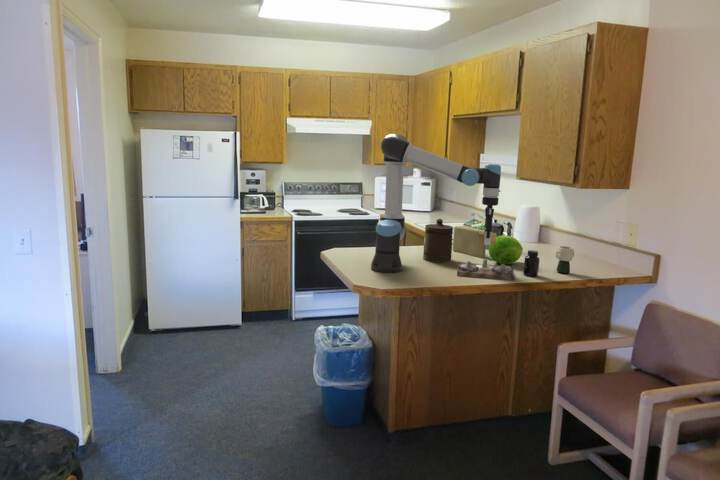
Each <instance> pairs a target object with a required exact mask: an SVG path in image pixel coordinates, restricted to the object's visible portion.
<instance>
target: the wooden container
mask: <svg viewBox="0 0 720 480" xmlns="http://www.w3.org/2000/svg"><path fill="white" fill-rule="evenodd" d="M443 222H444V220H443V219H442V218H438V219H436V223H429V224H425V229H424V240H423V241H424V242H423V256H422V258H423V259H422V260H425V261H427V262H431V263H449V262H451V261H452V253H453V252H452V251H453V236H454V227H453V226H451V225H447V224H444V223H443Z"/></svg>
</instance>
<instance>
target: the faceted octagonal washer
mask: <svg viewBox="0 0 720 480" xmlns="http://www.w3.org/2000/svg"><path fill="white" fill-rule="evenodd" d="M496 236H497V234H496V233H492V232H491V241H490V245H496ZM484 242H485V232H479V237H478V244H483V245H484Z"/></svg>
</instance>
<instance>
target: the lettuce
mask: <svg viewBox="0 0 720 480" xmlns="http://www.w3.org/2000/svg"><path fill="white" fill-rule="evenodd" d="M487 251H488V254H489V256H490V258H491V259H492V260H493V261H495V262H496V263H498V264H500V265H501V264H504V265H511V264H513V263H515V262H517V261H518V260H519V259H520V258H521V256H522V254H523V251H524V249H523V246H522V244H521V242H519V240H518V239H517V238H516V237H513V236H511V235H506V234H505V235H504V234H503V235H501V236H497V237H496V245H489V249H488V250H487Z"/></svg>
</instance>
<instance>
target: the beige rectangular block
mask: <svg viewBox="0 0 720 480" xmlns="http://www.w3.org/2000/svg"><path fill="white" fill-rule="evenodd" d="M479 232H484V230H482V229H478V228H473V227H471V226H469V225H455V226H454V227H453V237H452V251H453V252H457V253H460V254H465V255H469V256H471V257H472V256H473V257H477V258H480V259H486V250H487V249H486V245H483V244H478V237H479Z"/></svg>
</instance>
